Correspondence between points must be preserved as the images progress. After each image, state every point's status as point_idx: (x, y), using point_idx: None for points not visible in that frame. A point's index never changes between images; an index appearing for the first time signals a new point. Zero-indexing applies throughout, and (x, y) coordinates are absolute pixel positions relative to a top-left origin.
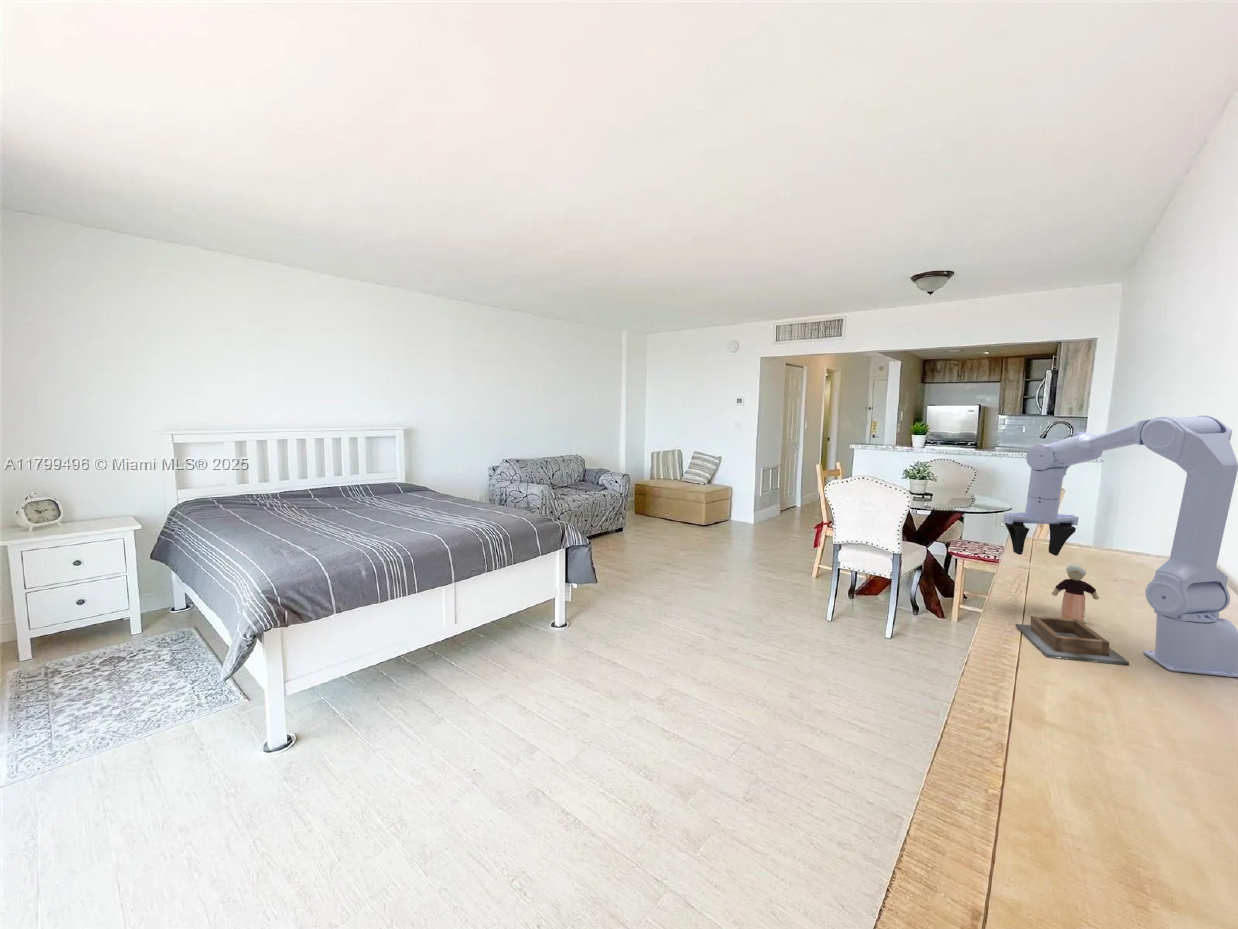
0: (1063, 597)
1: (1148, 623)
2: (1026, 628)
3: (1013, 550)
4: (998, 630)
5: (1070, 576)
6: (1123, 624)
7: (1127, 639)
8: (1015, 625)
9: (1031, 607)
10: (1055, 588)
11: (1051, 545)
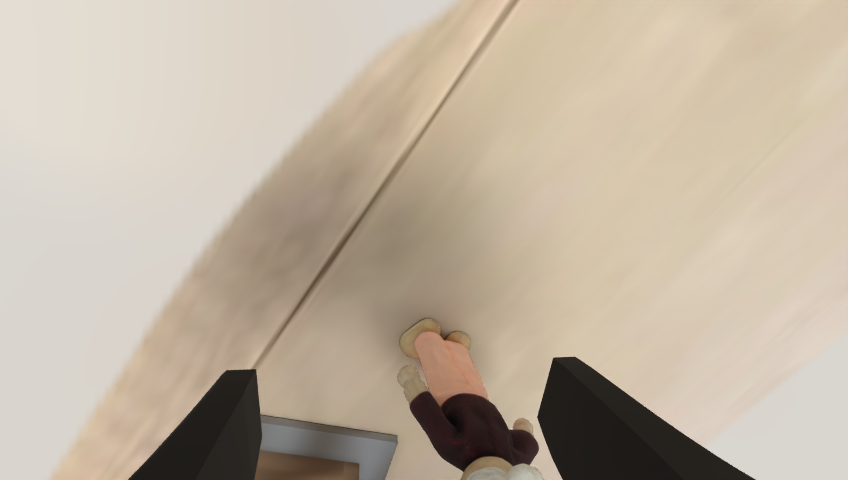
0: (428, 386)
1: (642, 352)
2: None
3: (218, 382)
4: (124, 440)
5: None
6: None
7: None
8: None
9: (400, 203)
10: (408, 399)
11: (593, 431)
